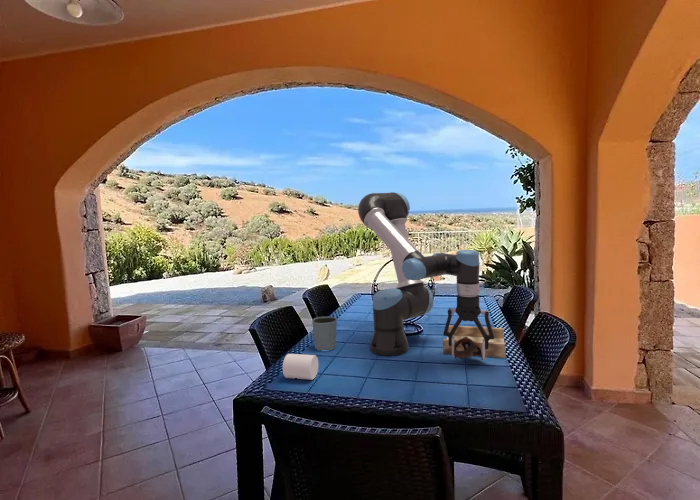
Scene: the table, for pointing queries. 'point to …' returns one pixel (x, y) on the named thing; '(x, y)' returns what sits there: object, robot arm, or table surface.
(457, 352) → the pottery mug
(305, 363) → the white cylinder
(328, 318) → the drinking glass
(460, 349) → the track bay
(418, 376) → the table surface
